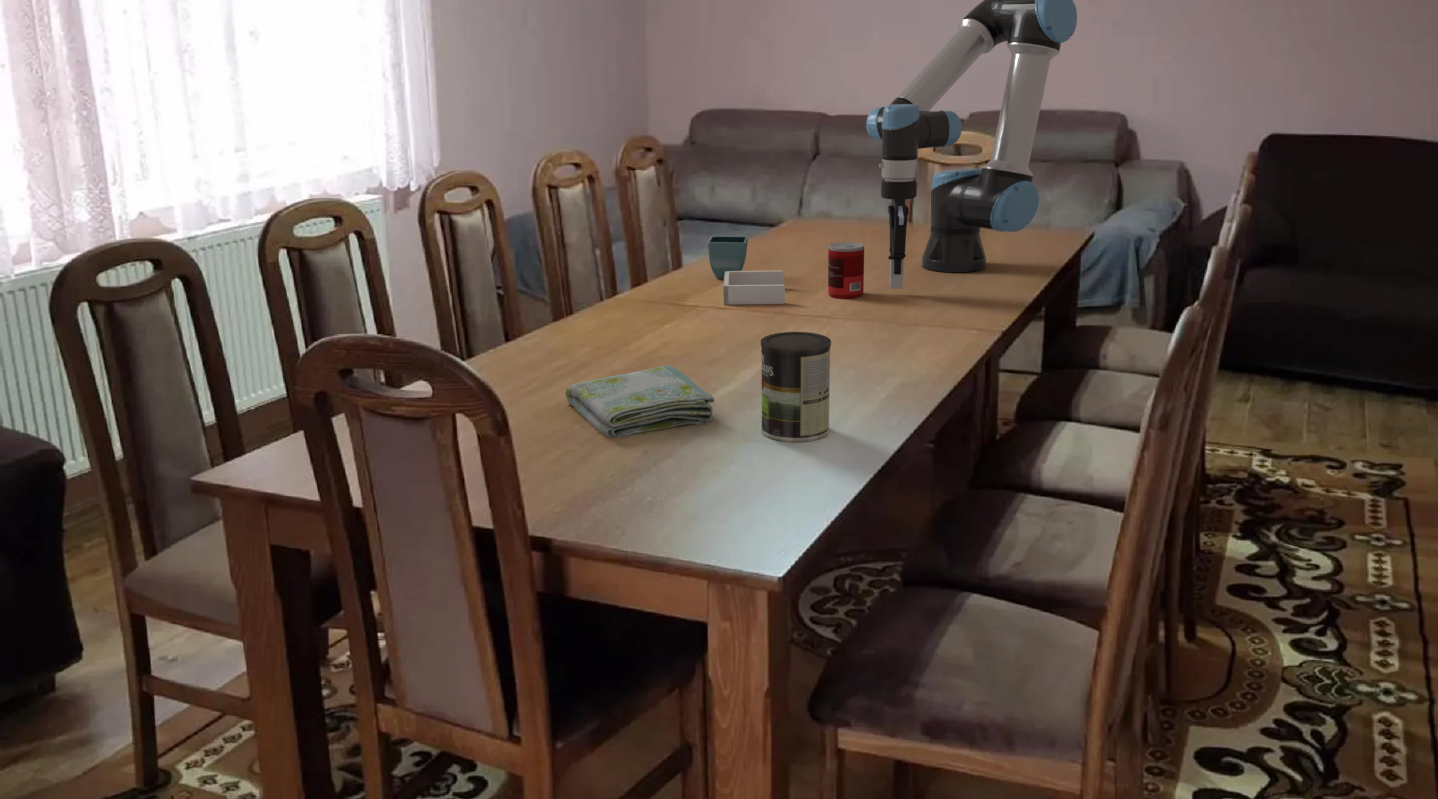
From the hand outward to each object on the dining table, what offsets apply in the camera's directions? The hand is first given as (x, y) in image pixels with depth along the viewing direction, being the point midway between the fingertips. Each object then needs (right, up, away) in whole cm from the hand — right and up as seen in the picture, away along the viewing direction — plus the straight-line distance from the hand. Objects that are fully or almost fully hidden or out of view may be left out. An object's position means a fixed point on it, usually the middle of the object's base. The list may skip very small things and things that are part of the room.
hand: (896, 288), depth 278 cm
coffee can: (-27, -29, -88) cm, 96 cm away
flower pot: (-36, +4, +22) cm, 43 cm away
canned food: (-11, -2, +1) cm, 11 cm away
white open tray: (-31, -2, +1) cm, 31 cm away
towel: (-51, -27, -77) cm, 96 cm away
